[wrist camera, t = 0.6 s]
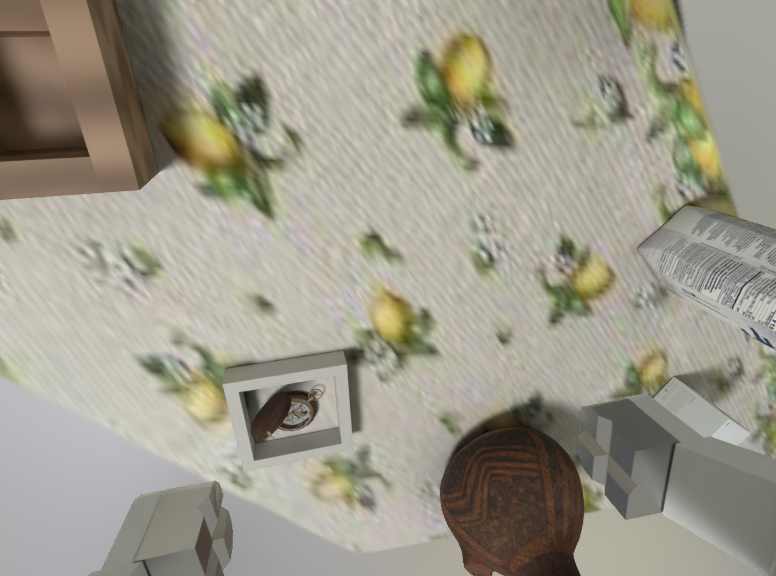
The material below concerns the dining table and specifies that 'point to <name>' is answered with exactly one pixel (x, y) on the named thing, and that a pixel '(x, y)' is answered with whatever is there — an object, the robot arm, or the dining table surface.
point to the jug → (514, 504)
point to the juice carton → (719, 267)
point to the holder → (68, 102)
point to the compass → (284, 414)
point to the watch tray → (281, 375)
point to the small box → (700, 413)
